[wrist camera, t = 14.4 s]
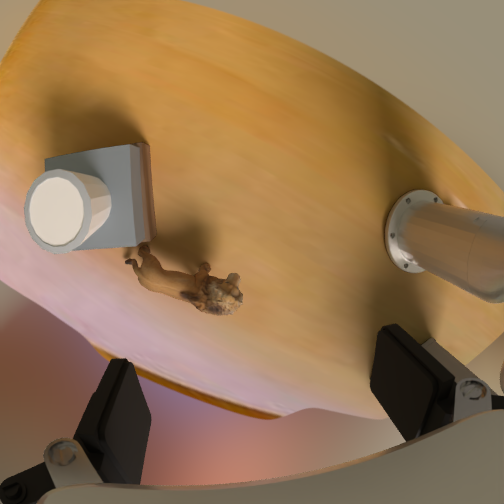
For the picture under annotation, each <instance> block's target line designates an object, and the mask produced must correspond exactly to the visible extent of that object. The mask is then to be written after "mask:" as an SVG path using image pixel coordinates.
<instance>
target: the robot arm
mask: <svg viewBox="0 0 504 504" xmlns="http://www.w3.org/2000/svg"><path fill="white" fill-rule="evenodd" d="M385 244H386V248H387V252H388V254H389V256H390V259H391V260H392V261H393V263H394V264H395V265H396V266H397V267H399V268H400V269H402V270H404V271H406V272H409V273H420V272H423V271H426V270H427V271H429V272H431V273H433V274H435V275H436V276H438V277H440V278H442V279H444V280H446V281H448V282H450V283H452V284H454V285H456V286H457V287H459V288H461V289H463V290H465V291H467V292H469V293H470V294H472V295H474V296H476V297H478V298H480V299H482V300H484V301H486V302H489V303H503V302H504V217H501V216H496V215H492V214H488V213H484V212H479V211H475V210H470V209H465V208H461V207H456V206H451V205H446V204H444V203H443V201H442V200H441V199H440V198H439V197H438V196H437V195H436V194H434V193H433V192H430V191H428V190H413V191H409V192H408V193H406V194H404V195H403V196H402V197H400V198H399V199H398V200H397V202H396V203H395V204H394V206H393V208H392V209H391V211H390V213H389V216H388V219H387V223H386V227H385ZM454 380H455V376H454V375H453V374H452V373H451V372H450V371H449V370H447V369H446V368H445V367H444V366H443V365H442V364H441V363H440V362H439V361H438V360H437V359H436V358H434V357H433V356H432V355H431V354H430V353H429V352H428V351H427V350H426V349H425V348H423V347H422V346H421V345H420V344H419V343H418V342H417V341H416V340H415V339H413V338H412V337H411V336H410V335H409V334H408V333H407V332H406V331H404V330H403V329H402V328H401V327H400V326H399V325H398V324H391V325H387V326H383V327H382V328H381V331H379V332H378V335H377V342H376V349H375V356H374V363H373V369H372V375H371V381H370V388H371V391H372V393H373V394H374V395H375V397H376V398H377V400H378V401H379V403H380V404H381V406H382V407H383V408H384V410H385V411H386V413H387V414H388V416H389V417H390V419H391V420H392V422H393V423H394V425H395V426H396V427H397V429H398V430H399V432H400V433H401V435H402V436H403V438H404V439H405V440H406V442H405V443H402V444H400V445H397V446H395V447H392V448H389V449H386V450H384V451H381V452H378V453H375V454H372V455H369V456H366V457H362V458H359V459H356V460H352V461H349V462H345V463H342V464H338V465H334V466H331V467H326V468H322V469H319V470H314V471H309V472H305V473H300V474H295V475H289V476H284V477H278V478H272V479H265V480H258V481H249V482H240V483H229V484H217V485H216V484H215V485H189V486H161V485H140V481H141V475H142V469H143V464H144V457H145V452H146V447H147V441H148V436H149V431H150V426H151V414H150V411H149V408H148V406H147V403H146V400H145V398H144V395H143V392H142V389H141V386H140V383H139V380H138V377H137V374H136V371H135V368H134V365H133V363H132V362H128V360H127V359H126V358H125V359H111V361H110V363H109V365H108V367H107V369H106V371H105V373H104V375H103V377H102V379H101V381H100V383H99V386H98V388H97V390H96V392H94V393H93V395H92V397H91V399H90V401H89V403H88V405H87V408H86V410H85V412H84V414H83V416H82V419H81V421H80V423H79V426H78V428H77V430H76V432H75V435H74V437H73V439H71V438H60V439H56V440H54V441H53V442H51V443H50V444H49V445H48V446H47V447H46V449H45V450H44V455H43V456H44V461H45V462H43V463H41V464H39V465H36V466H34V467H32V468H30V469H28V470H25V471H23V472H21V473H18V474H16V475H14V476H11V477H9V478H7V479H6V480H4V481H3V482H2V483H1V485H0V504H504V396H498V395H491V391H490V387H489V386H488V385H487V384H486V383H485V382H484V381H482V380H480V379H477V378H465V379H462V380H461V381H459V382H458V384H457V383H456V382H455V381H454ZM500 385H501V389H502V391H503V393H504V362H503V364H502V368H501V373H500Z"/></svg>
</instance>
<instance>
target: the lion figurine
mask: <svg viewBox="0 0 504 504" xmlns="http://www.w3.org/2000/svg"><path fill="white" fill-rule="evenodd" d="M138 255H139V256H141V257H142V258H143V262H142V265H141V268H139V267H138V264H137V261H136V260H135V259H128V260H126V261H125V264H131V265H133V269H134V272H135V274H136V275H137V276H138V280H139V282H140V284H141V285H142V286H144V287H145V288H147V289H148V290H150V291H153V292H158V293H162V294H165V295H168V296H170V297H173V298H176V299H179V300H182V301H185V302H189V303H191V304H193V305H194V306H196V308H197V309H198V310H200V311H201V312H205V313H211V314H213V315H218V316H219V315H228V314H231V315H232V314H233V312H235V311H237V310H238V308H239V307H240V305H242V304H243V303H242V300H243V294H242V293H241V292H240V290H239V289H238V286H239V283H240V281H241V279H240V276H239V275H238V274H237V273H230V274H229V275H228V277H227V279H226V280H225V279H218V278H217V277H213V276H209V274H208V273H209V272H210V270H211V268H210V265H209V264H208V263H206V264H203V265H202V266H200V268H199V270H198V271H199V272H198V273H197V274H195V276H192V275H189V274H186V273H182V272H178V271H167V270H164V269H163V268H162V267H161V264H160V262H159V261H158V260H157V258H156V257H155V256H153V255H152V254H150V249H149V247H148V246H142V247H141V248H140V249H139V252H138Z"/></svg>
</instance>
